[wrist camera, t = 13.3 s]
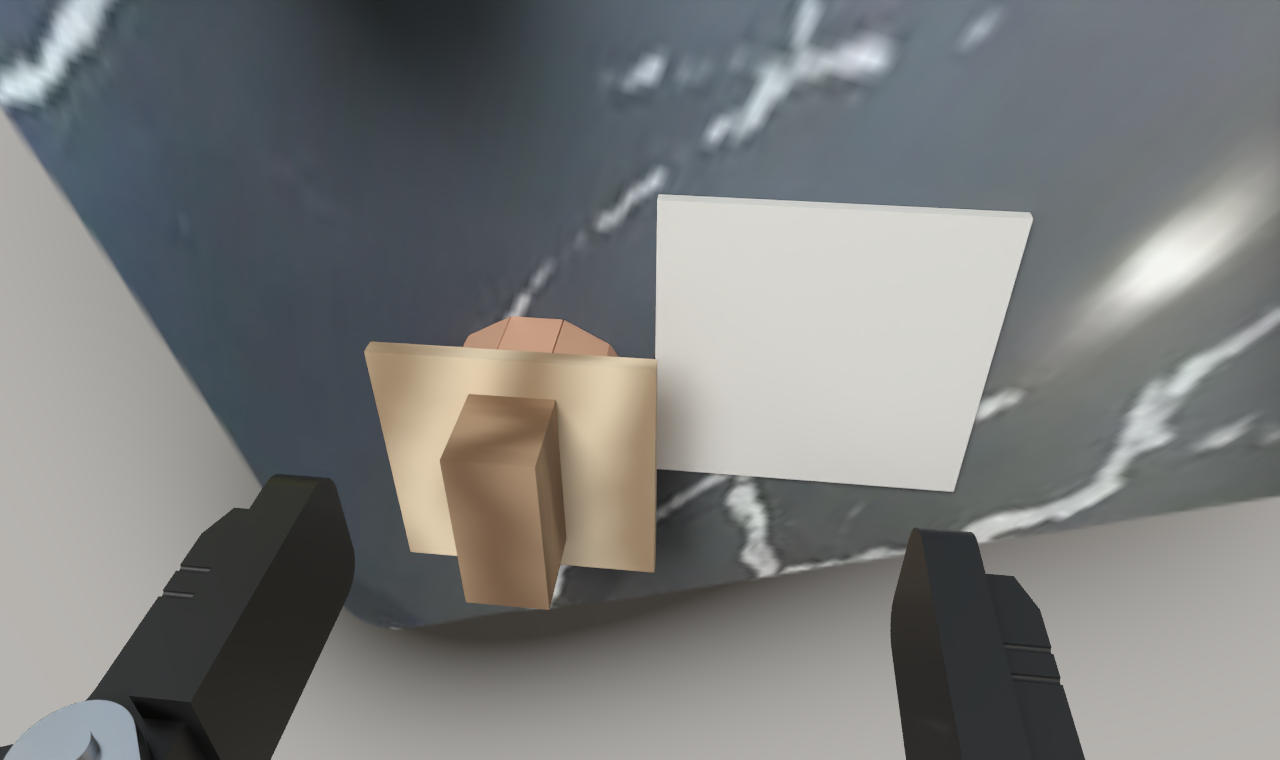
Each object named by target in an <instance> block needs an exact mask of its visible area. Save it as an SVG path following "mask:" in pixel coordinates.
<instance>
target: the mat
mask: <svg viewBox="0 0 1280 760" xmlns="http://www.w3.org/2000/svg"><path fill="white" fill-rule="evenodd" d="M1032 221H1033V218H1032V216H1031V214H1030V212H1010V211H990V210H969V209H949V208H929V207H908V206H888V205H868V204H847V203H827V202H807V201H787V200H766V199H746V198H726V197H705V196H685V195H665V194H659V195H658V199H657V267H656V349H655V359H658V364H657V469H664V470H677V471H690V472H703V473H716V474H729V475H742V476H755V477H768V478H781V479H794V480H807V481H820V482H832V483H845V484H858V485H871V486H884V487H897V488H910V489H923V490H936V491H949V492H954V488H955V485H956V482H957V478H958V475H959V471H960V468H961V464H962V461H963V458H964V454H965V451H966V447H967V444H968V440H969V437H970V434H971V430H972V427H973V423H974V420H975V416H976V413H977V410H978V406H979V403H980V399H981V396H982V392H983V389H984V386H985V382H986V379H987V375H988V372H989V368H990V365H991V362H992V358H993V355H994V351H995V348H996V344H997V341H998V338H999V334H1000V331H1001V327H1002V324H1003V320H1004V317H1005V314H1006V310H1007V307H1008V303H1009V300H1010V296H1011V293H1012V290H1013V286H1014V283H1015V279H1016V276H1017V272H1018V269H1019V266H1020V262H1021V259H1022V255H1023V252H1024V248H1025V245H1026V242H1027V238H1028V235H1029V231H1030V228H1031V224H1032Z"/></svg>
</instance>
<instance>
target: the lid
mask: <svg viewBox="0 0 1280 760" xmlns="http://www.w3.org/2000/svg"><path fill="white" fill-rule="evenodd" d="M364 353H365V358H366V362H367V366H368V370H369V375H370V379H371V383H372V388H373V392H374V396H375V400H376V405H377V409H378V413H379V418H380V422H381V426H382V431H383V435H384V439H385V443H386V448H387V452H388V456H389V461H390V465H391V469H392V473H393V478H394V482H395V486H396V491H397V495H398V499H399V503H400V508H401V512H402V516H403V521H404V525H405V529H406V533H407V538H408V542H409V546H410V551H411V552H418V553H430V554H442V555H454V556H458V562H459V567H460V572H461V578H462V583H463V588H464V594H465V599H466V602H469V603H480V604H492V605H503V606H514V607H525V608H536V609H547V610H549V609H550V605H551V601H552V597H553V592H554V588H555V584H556V580H557V576H558V572H559V568H560V565H572V566H583V567H595V568H607V569H619V570H630V571H642V572H654V571H655V563H656V482H657V364H658V359H642V358H626V357H610V356H594V355H578V354H562V353H546V352H530V351H514V350H498V349H482V348H466V347H450V346H434V345H418V344H402V343H386V342H370V343H369V345H368V346H367V348H366V350H365V351H364Z"/></svg>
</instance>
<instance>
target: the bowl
mask: <svg viewBox="0 0 1280 760" xmlns="http://www.w3.org/2000/svg"><path fill="white" fill-rule="evenodd" d="M609 345H610V344H608V343H606V342H604V341H602V340H601V339H599V338H597V337H595V336H593V335H591V334H589V333H588V332H586V331H584V330H582V329H580V328H578V327H576V326H575V325H573V324H571V323H569V322H567V321H565V320H564V321H563V320H562V319H546V318H530V317H514V316H512V317H508V318H506V319H504V320H502V321H499V322H497V323H495V324H493V325H491V326H488V327H486V328H484V329H482V330H480V331H478V332H475V333H473V334H471V335H469V336H468V338H467V339H466V341H465V343H464V345H463V346H462V347H466V348H482V349H498V350H514V351H530V352H546V353H562V354H578V355H594V356H610V357H618V355H617V354H616V352H615V351H614V349H613V348H612V346H609Z"/></svg>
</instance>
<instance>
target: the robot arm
mask: <svg viewBox="0 0 1280 760" xmlns="http://www.w3.org/2000/svg"><path fill="white" fill-rule="evenodd" d="M354 569H355V555H354V549H353V545H352V542H351V538H350V534H349V531H348V527H347V524H346V520H345V517H344V513H343V510H342V506H341V503H340V499H339V496H338V492H337V489H336V486H335V484H334V482H333V481H332V480H331V479H329V478H321V477H308V476H296V475H284V474H276V475H274V476H272V477H271V478H270V479H269V480H268V481H267V483H266V484H265V485H264V487H263V488H262V490H261V492H260V493H259V495H258V496H257V498H256V499H255V501H254V502H253V504H252V506H251V507H250V509H242V508H234V509H232V510H231V511H230V512H228V513H227V514H226V515H225V516H223V517H222V518H221V519H220V520H218V521H217V522H216V523H214V524H213V525H212V526H211V527H209V528H208V529H207V530H206V531H204V532H203V533H202V534H201V535H200V537H199V538H198V540H197V541H196V543H195V544H194V546H193V547H192V549H191V550H190V551H189V553H188V554H187V556H186V557H185V559H184V560H183V562H182V563H181V568H180V570H179V571H176V572H175V573H174V575H173V576H172V578H171V579H170V581H169V582H168V584H167V585H166V586H165V588H164V589H163V592H164V593H163V595H162V597H158V598H157V600H156V601H155V603H154V604H153V605H152V607H151V608H150V610H149V611H148V613H147V614H146V616H145V617H144V619H143V620H142V622H141V623H140V624H139V626H138V627H137V629H136V630H135V632H134V633H133V635H132V636H131V638H130V639H129V641H128V642H127V643H126V645H125V646H124V648H123V649H122V651H121V652H120V654H119V655H118V657H117V658H116V660H115V661H114V663H113V664H112V665H111V667H110V668H109V670H108V671H107V673H106V674H105V676H104V677H103V679H102V680H101V681H100V683H99V684H98V686H97V687H96V689H95V690H94V692H93V693H92V694H91V695H90V697H89V698H88V699H87V700H86V701H83V702H78V703H74V704H71V705H68V706H66V707H63V708H61V709H59V710H57V711H54V712H52V713H51V714H49V715H47V716H46V717H44V718H42V719H41V720H39V721H38V722H37V723H35V724H34V725H33V726H31V727H30V728H29V729H28V730H27V731H26V732H25V733H24V734H22V735H21V737H20V738H19V739H18V740H17V741H16V742H15V743H14V744H12V745H8V746H4V747H0V760H271V757H272V755H273V753H274V751H275V749H276V747H277V745H278V742H279V740H280V738H281V736H282V734H283V732H284V730H285V728H286V725H287V724H288V721H289V719H290V717H291V715H292V713H293V711H294V709H295V706H296V704H297V702H298V700H299V698H300V696H301V694H302V692H303V689H304V688H305V685H306V683H307V681H308V679H309V677H310V675H311V673H312V670H313V668H314V666H315V664H316V662H317V660H318V658H319V656H320V654H321V652H322V649H323V647H324V645H325V643H326V641H327V639H328V637H329V634H330V632H331V630H332V628H333V626H334V624H335V622H336V620H337V618H338V616H339V613H340V611H341V609H342V607H343V605H344V603H345V601H346V599H347V596H348V594H349V592H350V589H351V585H352V581H353V577H354ZM891 648H892V655H893V662H894V671H895V678H896V686H897V694H898V701H899V709H900V716H901V724H902V732H903V739H904V747H905V754H906V760H1085V758H1084V754H1083V751H1082V748H1081V744H1080V741H1079V738H1078V735H1077V731H1076V728H1075V725H1074V721H1073V718H1072V715H1071V711H1070V708H1069V705H1068V702H1067V698H1066V695H1065V691H1064V688H1063V685H1060V675H1059V672H1058V668H1057V665H1056V661H1055V658H1054V655H1053V654H1051V645H1050V642H1049V638H1048V635H1047V632H1046V628H1045V625H1044V622H1043V618H1042V615H1041V612H1040V609H1039V608H1038V607H1037V606H1036V604H1035V603H1034V602H1033V600H1032V599H1031V598H1030V597H1029V595H1028V594H1027V593H1026V591H1025V590H1024V589H1023V588H1022V586H1021V585H1020V584H1019V583H1018V581H1017V580H1016V579H1015V577H1014V576H1005V575H993V574H985V570H984V567H983V562H982V558H981V554H980V550H979V546H978V542H977V539H976V537H975V535H974V534H973V533H972V532H962V531H950V530H938V529H925V528H914V529H913V530H912V532H911V535H910V538H909V542H908V545H907V549H906V553H905V557H904V561H903V565H902V568H901V572H900V576H899V580H898V584H897V587H896V591H895V595H894V600H893V604H892V612H891Z"/></svg>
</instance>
